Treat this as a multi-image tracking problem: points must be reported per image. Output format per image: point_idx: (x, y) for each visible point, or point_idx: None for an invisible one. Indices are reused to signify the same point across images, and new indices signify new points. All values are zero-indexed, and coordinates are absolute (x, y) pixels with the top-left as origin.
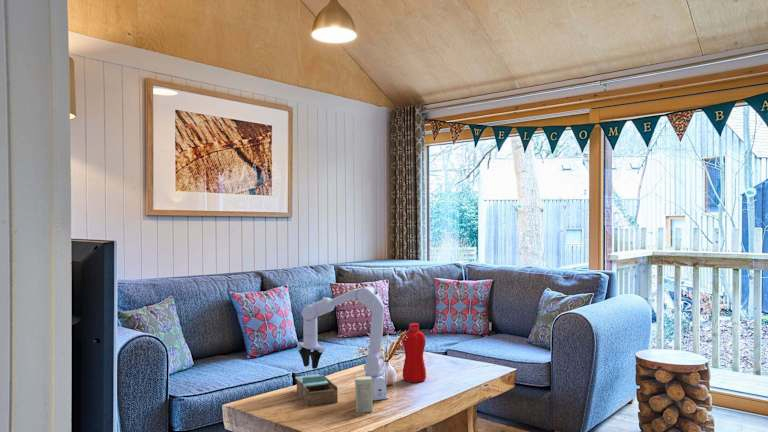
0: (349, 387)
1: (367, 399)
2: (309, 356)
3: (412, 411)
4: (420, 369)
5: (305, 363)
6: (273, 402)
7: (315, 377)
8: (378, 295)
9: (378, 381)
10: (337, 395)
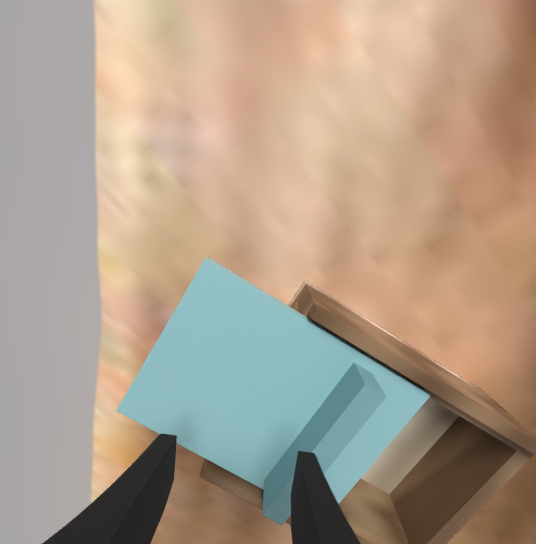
0: (393, 132)
1: None
2: (120, 529)
3: None
4: None
5: (161, 508)
6: (214, 531)
7: (336, 452)
8: None
9: None
10: (511, 415)
